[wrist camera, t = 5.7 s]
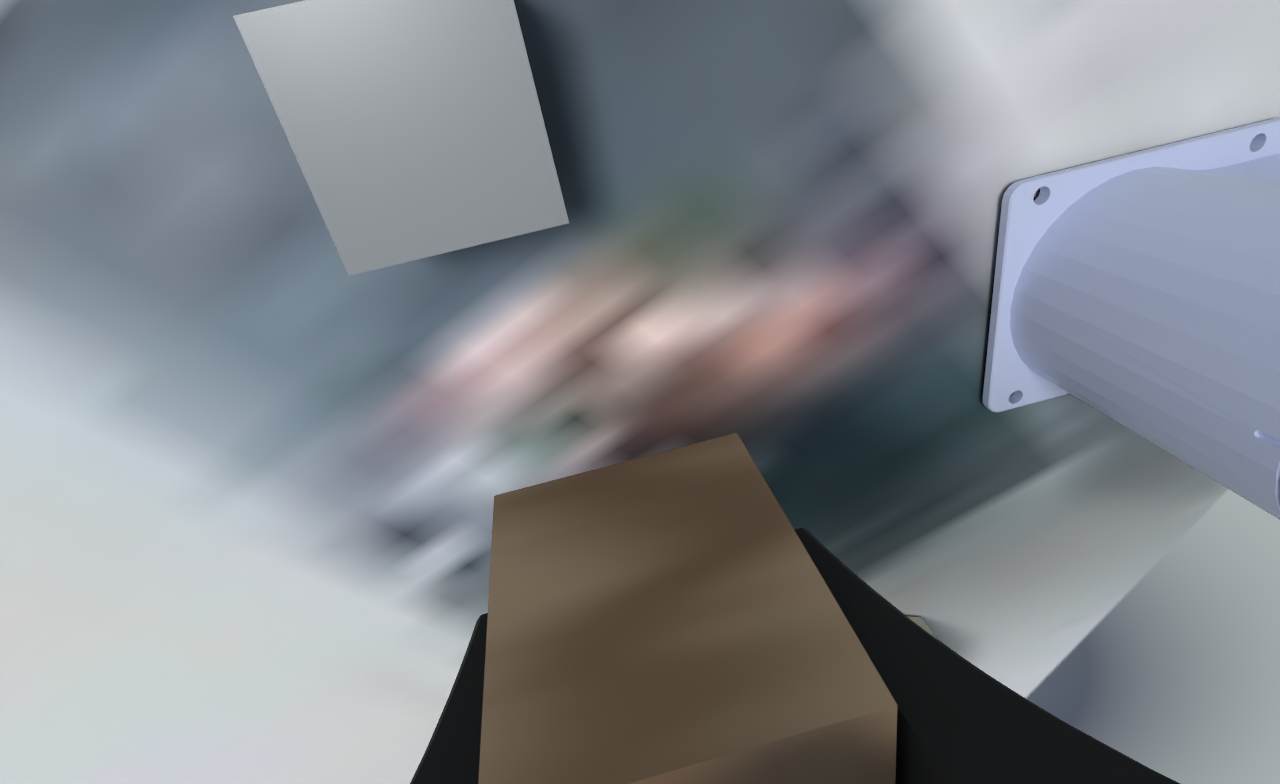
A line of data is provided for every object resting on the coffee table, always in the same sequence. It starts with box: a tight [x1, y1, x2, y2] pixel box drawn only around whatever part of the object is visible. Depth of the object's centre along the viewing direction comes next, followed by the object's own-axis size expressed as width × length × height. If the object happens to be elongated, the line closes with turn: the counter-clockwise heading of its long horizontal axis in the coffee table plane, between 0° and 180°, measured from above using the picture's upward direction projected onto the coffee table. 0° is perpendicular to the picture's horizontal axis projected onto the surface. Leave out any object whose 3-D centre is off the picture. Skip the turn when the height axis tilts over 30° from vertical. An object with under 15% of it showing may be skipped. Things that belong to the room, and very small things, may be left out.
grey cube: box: [233, 0, 569, 276], centre depth 13 cm, size 4×4×4 cm
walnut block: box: [478, 433, 897, 784], centre depth 10 cm, size 4×4×6 cm
